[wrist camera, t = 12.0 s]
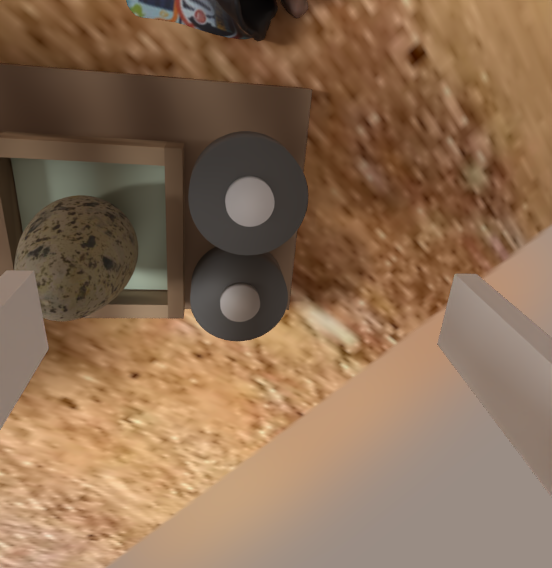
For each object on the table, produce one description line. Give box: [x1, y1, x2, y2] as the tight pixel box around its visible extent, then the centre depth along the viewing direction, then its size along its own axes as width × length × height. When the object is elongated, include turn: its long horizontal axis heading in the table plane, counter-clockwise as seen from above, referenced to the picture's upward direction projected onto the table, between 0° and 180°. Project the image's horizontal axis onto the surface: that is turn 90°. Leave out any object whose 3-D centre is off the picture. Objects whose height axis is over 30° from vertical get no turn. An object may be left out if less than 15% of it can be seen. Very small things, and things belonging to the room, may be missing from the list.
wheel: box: [188, 131, 308, 255], centre depth 24 cm, size 6×6×3 cm
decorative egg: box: [14, 195, 138, 321], centre depth 25 cm, size 6×6×10 cm
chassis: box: [0, 63, 312, 341], centre depth 28 cm, size 20×15×6 cm
